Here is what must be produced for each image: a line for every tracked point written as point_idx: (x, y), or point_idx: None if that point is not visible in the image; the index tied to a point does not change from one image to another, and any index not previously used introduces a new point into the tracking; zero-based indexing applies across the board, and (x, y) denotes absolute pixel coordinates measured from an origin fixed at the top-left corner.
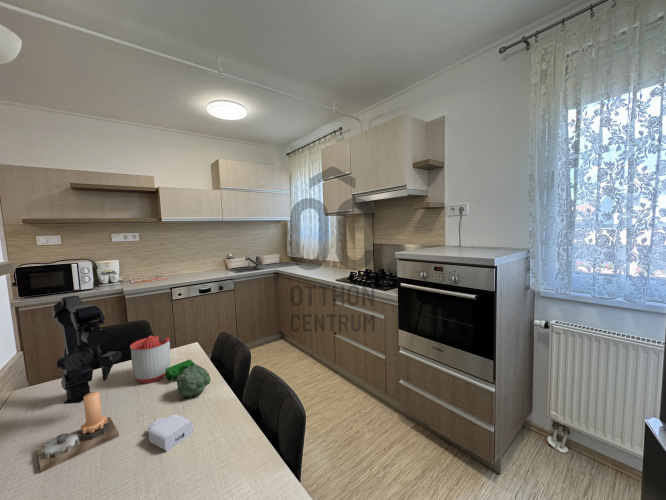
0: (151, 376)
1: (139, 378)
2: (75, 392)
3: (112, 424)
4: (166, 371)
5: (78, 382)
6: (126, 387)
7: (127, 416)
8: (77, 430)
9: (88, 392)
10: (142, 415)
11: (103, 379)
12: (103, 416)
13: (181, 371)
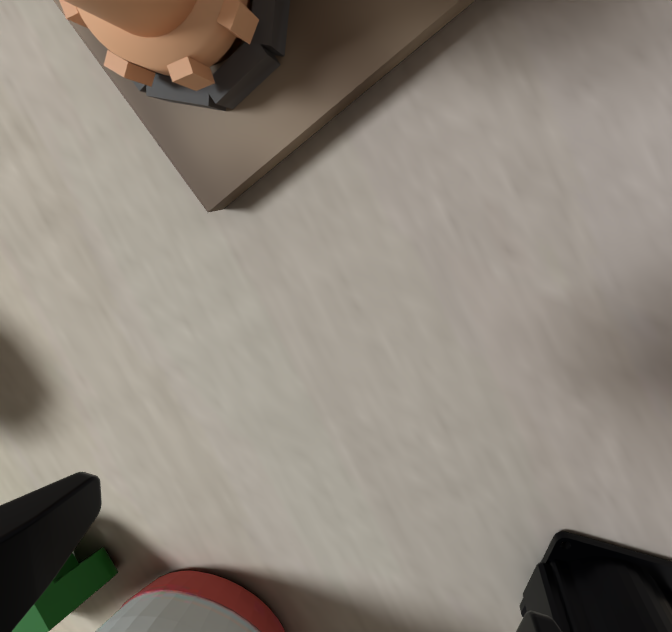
0: (154, 602)
1: (233, 618)
2: (625, 623)
3: (129, 90)
4: (55, 605)
5: (525, 616)
6: (320, 581)
7: (134, 227)
8: (364, 76)
9: (532, 606)
10: (45, 207)
11: (60, 490)
12: (113, 53)
13: None
